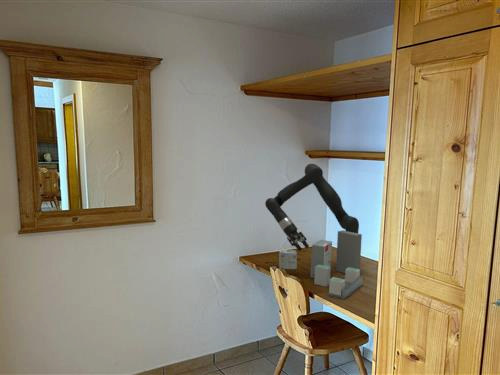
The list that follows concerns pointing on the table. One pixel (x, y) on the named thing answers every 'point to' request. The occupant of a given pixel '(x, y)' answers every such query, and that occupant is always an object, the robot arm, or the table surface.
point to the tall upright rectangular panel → (348, 250)
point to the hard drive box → (321, 255)
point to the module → (322, 275)
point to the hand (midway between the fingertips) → (304, 249)
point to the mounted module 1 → (336, 286)
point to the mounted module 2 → (352, 274)
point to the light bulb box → (288, 259)
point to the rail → (349, 288)
